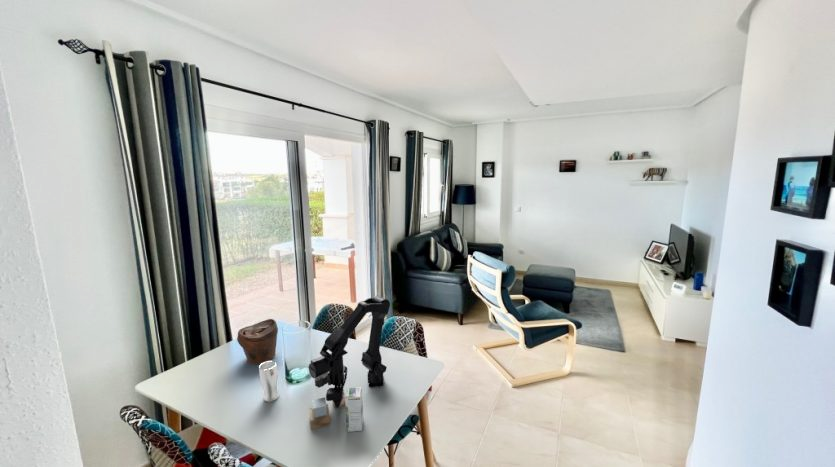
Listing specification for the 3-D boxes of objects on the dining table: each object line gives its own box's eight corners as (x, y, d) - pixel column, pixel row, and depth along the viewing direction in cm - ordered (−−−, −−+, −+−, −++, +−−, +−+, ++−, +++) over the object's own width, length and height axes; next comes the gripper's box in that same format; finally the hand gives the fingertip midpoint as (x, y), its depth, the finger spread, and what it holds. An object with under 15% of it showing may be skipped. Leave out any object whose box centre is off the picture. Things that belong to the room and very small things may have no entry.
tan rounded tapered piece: (345, 398, 146) (344, 390, 146) (344, 406, 142) (343, 398, 141) (333, 399, 146) (333, 391, 145) (332, 407, 141) (331, 399, 140)
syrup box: (348, 420, 134) (345, 387, 131) (363, 419, 134) (361, 386, 131) (346, 432, 128) (344, 397, 125) (362, 431, 129) (360, 396, 126)
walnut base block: (328, 412, 139) (327, 403, 138) (330, 424, 133) (329, 415, 132) (310, 417, 137) (309, 408, 136) (311, 429, 130) (310, 420, 129)
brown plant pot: (231, 366, 171) (226, 332, 167) (257, 345, 190) (254, 314, 186) (263, 371, 167) (259, 336, 163) (287, 349, 186) (284, 318, 182)
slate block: (325, 406, 137) (325, 397, 136) (327, 414, 132) (326, 405, 131) (312, 409, 135) (311, 400, 134) (313, 418, 131) (312, 408, 130)
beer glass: (283, 393, 150) (280, 362, 147) (272, 404, 144) (268, 371, 141) (270, 390, 153) (266, 359, 149) (258, 400, 146) (254, 368, 143)
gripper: (319, 355, 149) (322, 387, 152) (310, 382, 131) (314, 419, 134) (346, 353, 150) (348, 385, 153) (341, 380, 131) (343, 416, 135)
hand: (338, 400), depth 144 cm, fingers open, 8 cm apart
